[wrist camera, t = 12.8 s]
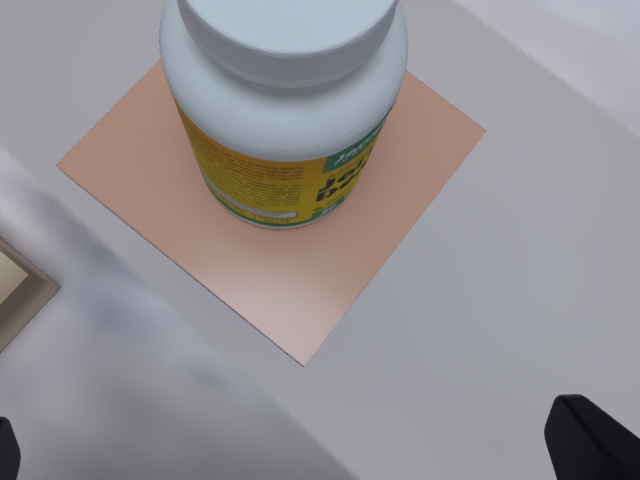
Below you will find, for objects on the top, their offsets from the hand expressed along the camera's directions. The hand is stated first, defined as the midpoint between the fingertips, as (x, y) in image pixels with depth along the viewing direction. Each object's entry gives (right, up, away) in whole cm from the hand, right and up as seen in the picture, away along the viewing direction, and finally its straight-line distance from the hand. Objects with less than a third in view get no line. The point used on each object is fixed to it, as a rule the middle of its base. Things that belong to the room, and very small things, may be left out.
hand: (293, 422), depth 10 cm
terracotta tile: (-1, +6, +10) cm, 12 cm away
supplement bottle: (-1, +6, +10) cm, 11 cm away
